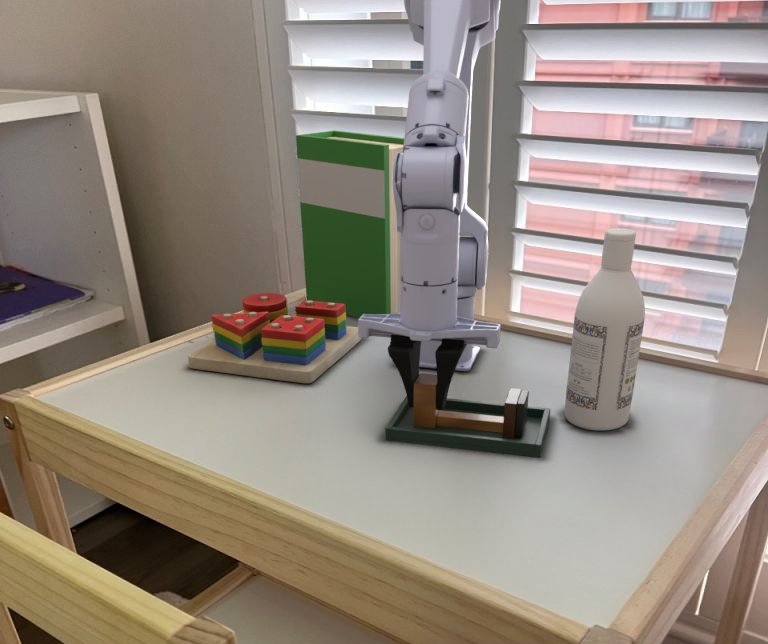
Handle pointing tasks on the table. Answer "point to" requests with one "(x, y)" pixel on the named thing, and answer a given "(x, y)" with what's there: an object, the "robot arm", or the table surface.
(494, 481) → the table surface
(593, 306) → the bath foam
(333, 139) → the hardback book
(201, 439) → the table surface
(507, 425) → the brown barbell-shaped piece
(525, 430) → the brush tray
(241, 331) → the shape sorter
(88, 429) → the table surface
